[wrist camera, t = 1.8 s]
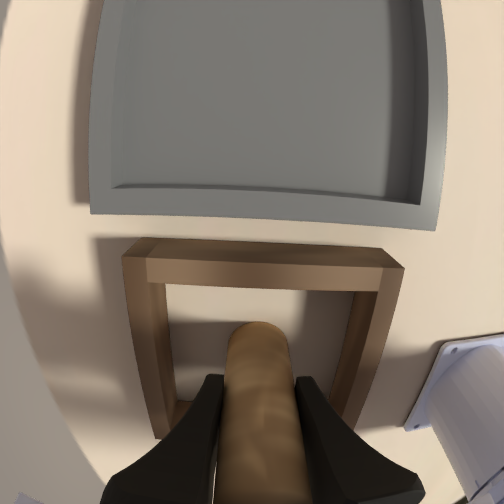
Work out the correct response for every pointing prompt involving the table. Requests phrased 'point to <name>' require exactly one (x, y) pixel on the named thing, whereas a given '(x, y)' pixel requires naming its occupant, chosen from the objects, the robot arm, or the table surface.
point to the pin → (260, 423)
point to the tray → (270, 110)
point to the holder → (266, 277)
